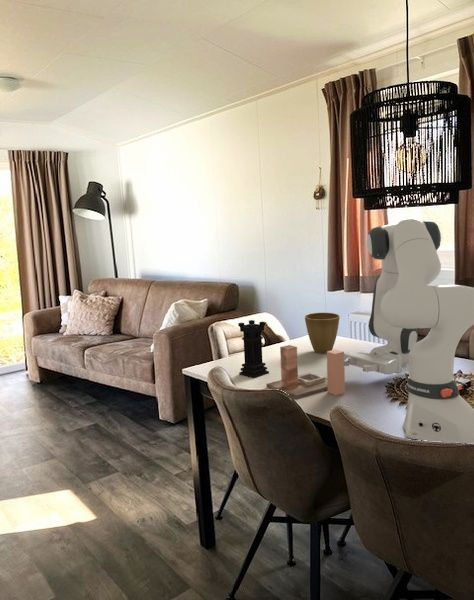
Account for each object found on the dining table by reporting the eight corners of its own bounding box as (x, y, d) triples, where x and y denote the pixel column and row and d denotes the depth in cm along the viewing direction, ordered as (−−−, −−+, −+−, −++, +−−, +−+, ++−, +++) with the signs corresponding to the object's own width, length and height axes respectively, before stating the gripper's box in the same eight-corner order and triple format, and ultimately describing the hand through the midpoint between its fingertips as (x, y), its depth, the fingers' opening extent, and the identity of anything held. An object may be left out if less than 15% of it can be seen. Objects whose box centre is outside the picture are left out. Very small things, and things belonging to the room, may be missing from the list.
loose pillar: (344, 392, 173) (344, 351, 171) (336, 395, 171) (335, 353, 169) (336, 389, 177) (335, 349, 175) (327, 392, 175) (326, 351, 172)
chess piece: (239, 374, 199) (236, 323, 196) (253, 369, 205) (251, 319, 202) (254, 378, 194) (252, 325, 191) (268, 373, 199) (266, 321, 196)
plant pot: (299, 350, 231) (298, 314, 229) (329, 346, 236) (328, 311, 233) (315, 358, 217) (314, 320, 215) (346, 353, 222) (346, 316, 220)
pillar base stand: (340, 385, 180) (339, 342, 178) (296, 398, 170) (294, 353, 167) (309, 375, 194) (308, 335, 191) (266, 387, 183) (264, 344, 181)
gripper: (359, 345, 193) (332, 351, 185) (405, 355, 176) (376, 363, 168) (359, 361, 194) (332, 369, 186) (405, 373, 177) (376, 382, 169)
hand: (353, 366), depth 177 cm, fingers open, 8 cm apart
